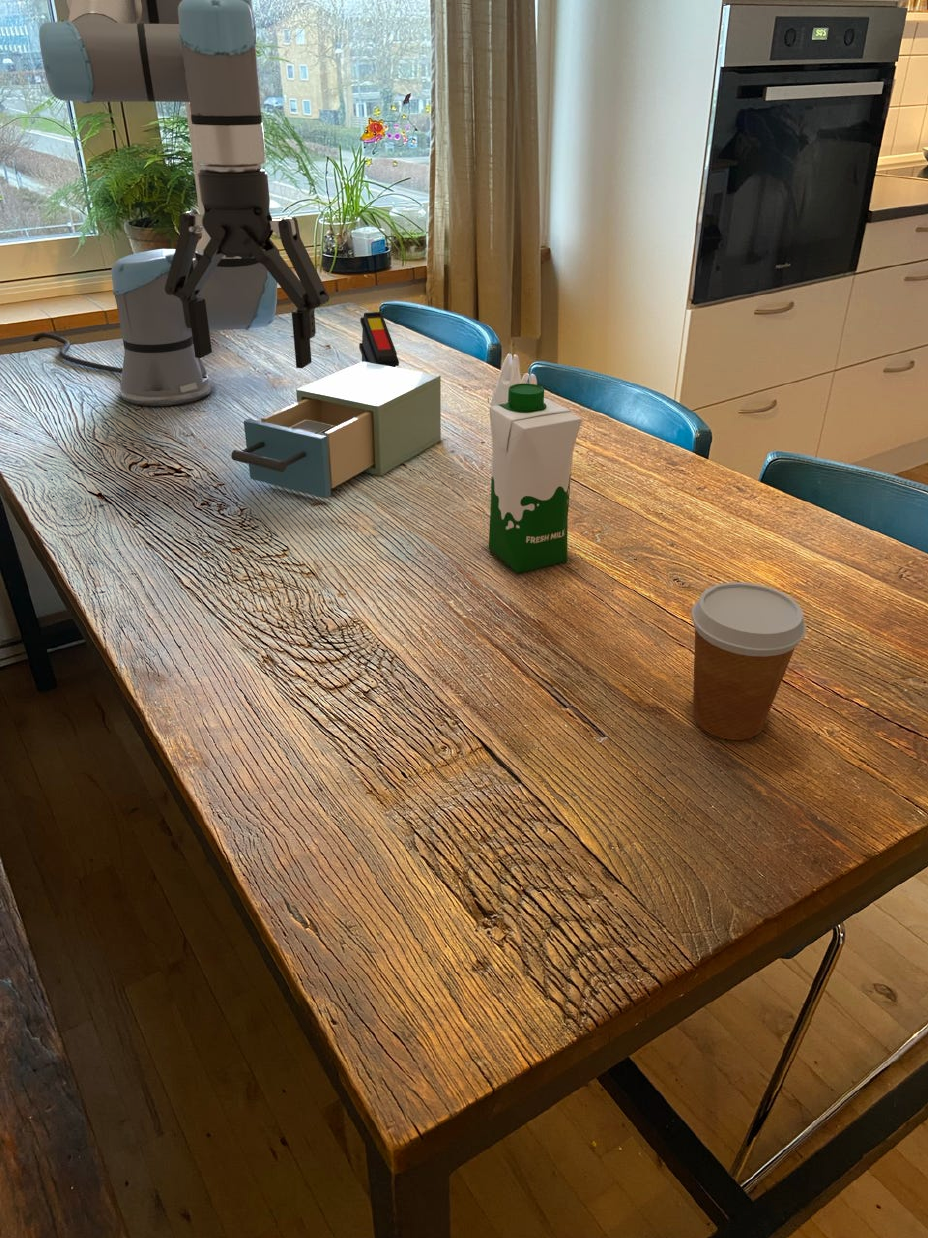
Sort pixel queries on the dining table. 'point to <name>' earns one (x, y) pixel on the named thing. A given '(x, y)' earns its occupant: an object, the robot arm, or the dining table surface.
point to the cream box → (312, 427)
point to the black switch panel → (377, 341)
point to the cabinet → (387, 407)
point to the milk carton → (531, 478)
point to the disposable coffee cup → (741, 655)
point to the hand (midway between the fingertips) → (253, 360)
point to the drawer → (309, 447)
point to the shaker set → (509, 380)
